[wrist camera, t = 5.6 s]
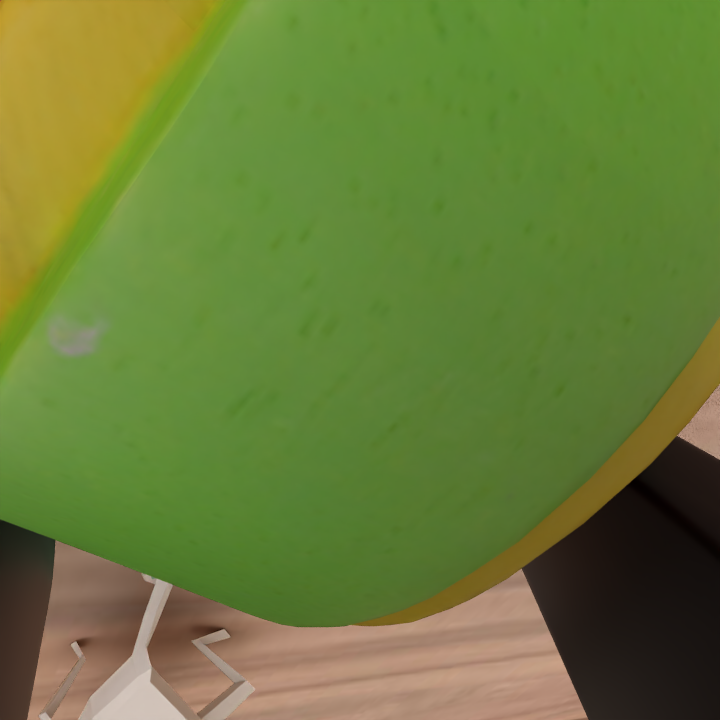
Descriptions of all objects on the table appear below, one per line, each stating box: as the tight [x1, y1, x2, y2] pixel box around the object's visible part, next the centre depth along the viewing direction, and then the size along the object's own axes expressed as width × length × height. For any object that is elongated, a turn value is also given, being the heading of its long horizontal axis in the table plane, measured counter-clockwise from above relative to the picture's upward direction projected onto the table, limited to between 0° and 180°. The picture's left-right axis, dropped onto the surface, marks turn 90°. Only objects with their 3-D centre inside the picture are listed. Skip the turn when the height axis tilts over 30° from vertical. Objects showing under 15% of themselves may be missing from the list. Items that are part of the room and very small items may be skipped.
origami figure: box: [38, 573, 255, 720], centre depth 27 cm, size 12×8×5 cm
